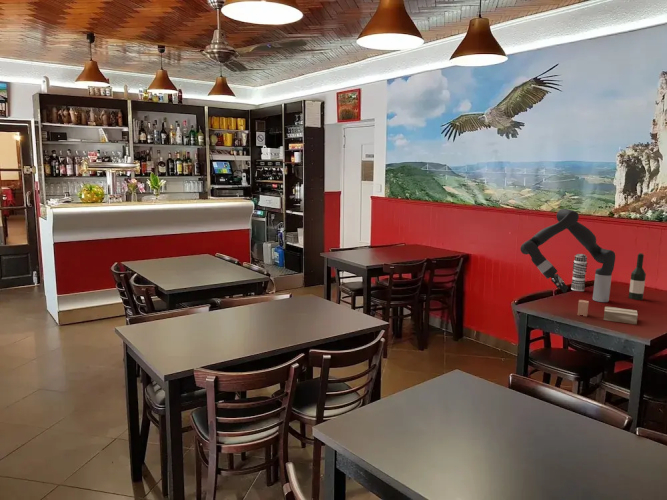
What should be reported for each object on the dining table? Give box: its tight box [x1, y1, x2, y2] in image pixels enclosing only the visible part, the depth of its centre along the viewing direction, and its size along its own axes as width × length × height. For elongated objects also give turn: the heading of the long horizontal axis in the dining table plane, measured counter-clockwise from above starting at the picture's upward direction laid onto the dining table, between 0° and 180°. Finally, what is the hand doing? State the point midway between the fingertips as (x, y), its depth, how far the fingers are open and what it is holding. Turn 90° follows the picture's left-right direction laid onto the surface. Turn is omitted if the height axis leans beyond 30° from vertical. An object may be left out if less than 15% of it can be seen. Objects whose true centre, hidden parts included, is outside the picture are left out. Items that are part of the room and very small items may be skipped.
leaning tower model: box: [570, 253, 588, 292], centre depth 357 cm, size 9×9×25 cm
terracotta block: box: [577, 299, 590, 317], centre depth 296 cm, size 5×5×8 cm
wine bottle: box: [628, 252, 647, 301], centre depth 335 cm, size 8×8×30 cm
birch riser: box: [603, 306, 639, 325], centre depth 289 cm, size 12×16×5 cm
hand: (566, 290), depth 299 cm, fingers open, 8 cm apart
